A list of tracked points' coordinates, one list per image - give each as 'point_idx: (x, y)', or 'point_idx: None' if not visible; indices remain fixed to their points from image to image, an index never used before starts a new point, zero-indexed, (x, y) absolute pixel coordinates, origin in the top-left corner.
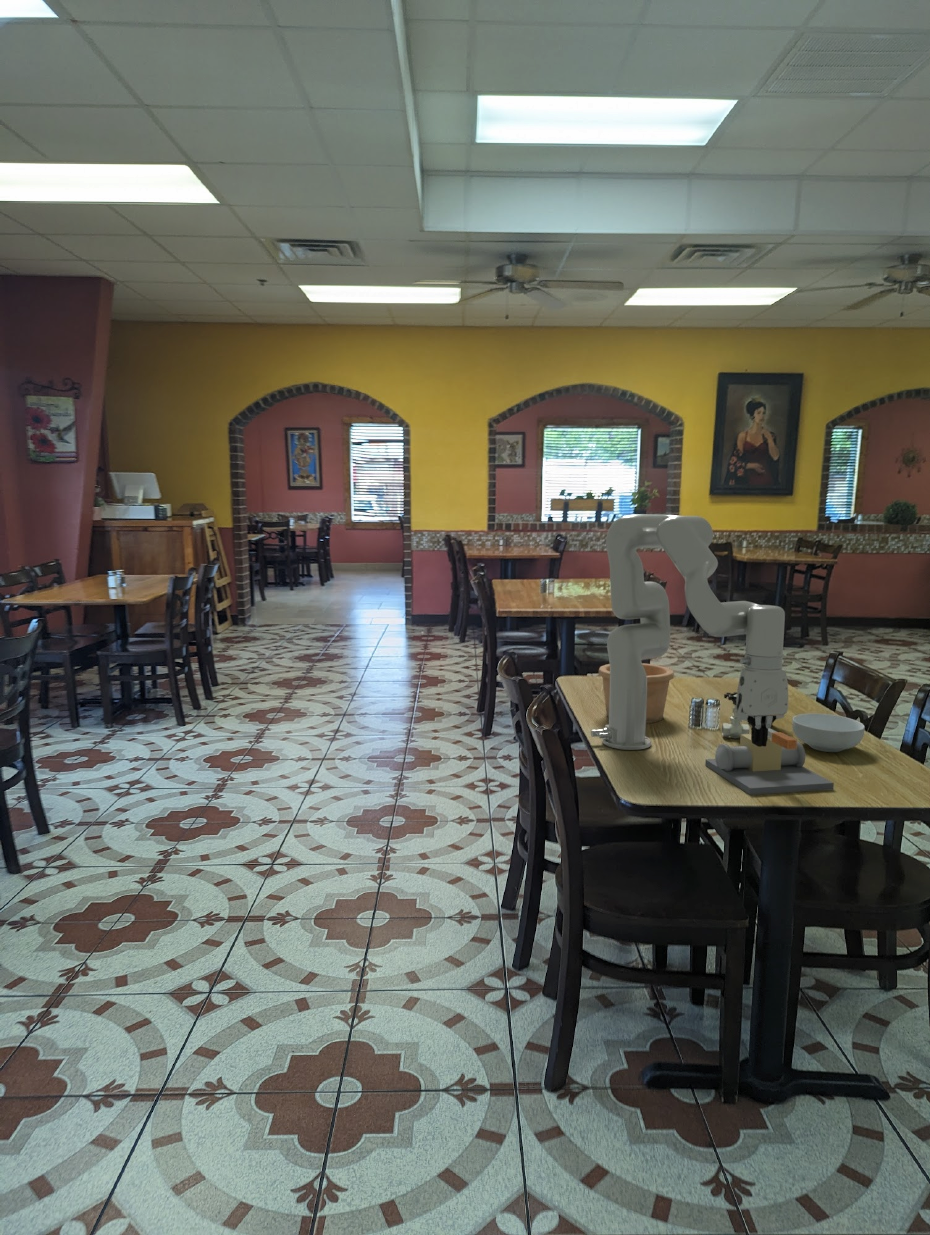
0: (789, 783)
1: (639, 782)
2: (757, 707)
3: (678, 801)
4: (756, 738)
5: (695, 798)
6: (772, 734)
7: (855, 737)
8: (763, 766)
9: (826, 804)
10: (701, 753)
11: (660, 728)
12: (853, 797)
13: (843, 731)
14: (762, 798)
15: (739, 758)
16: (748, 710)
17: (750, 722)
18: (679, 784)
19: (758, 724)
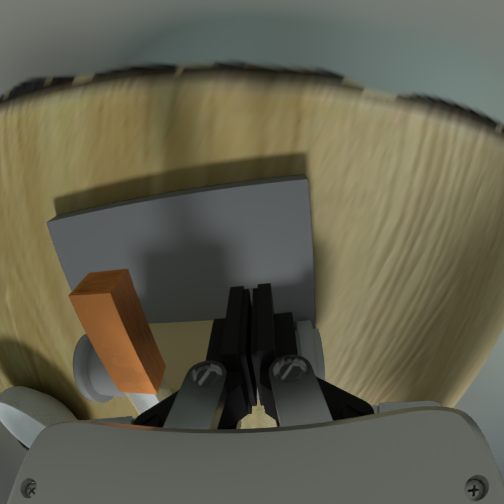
0: (157, 218)
1: (498, 280)
2: (390, 499)
3: (493, 158)
4: (284, 322)
5: (456, 169)
6: (157, 386)
7: (3, 393)
8: (196, 329)
9: (105, 100)
10: None
11: None
12: (32, 162)
13: (12, 407)
14: (276, 144)
15: None
16: (476, 439)
17: (351, 394)
18: (442, 267)
19: (288, 383)
